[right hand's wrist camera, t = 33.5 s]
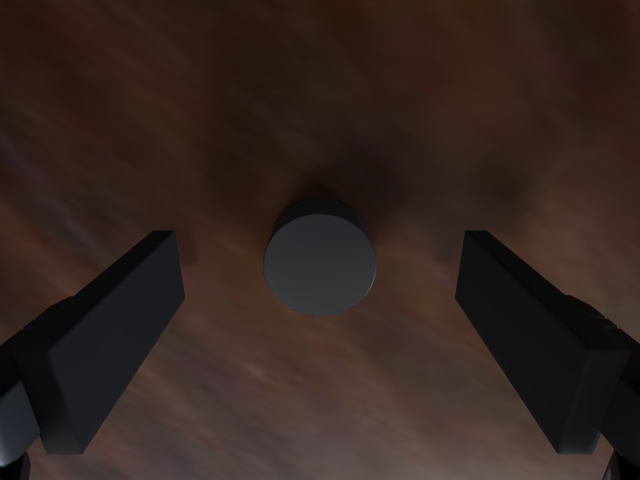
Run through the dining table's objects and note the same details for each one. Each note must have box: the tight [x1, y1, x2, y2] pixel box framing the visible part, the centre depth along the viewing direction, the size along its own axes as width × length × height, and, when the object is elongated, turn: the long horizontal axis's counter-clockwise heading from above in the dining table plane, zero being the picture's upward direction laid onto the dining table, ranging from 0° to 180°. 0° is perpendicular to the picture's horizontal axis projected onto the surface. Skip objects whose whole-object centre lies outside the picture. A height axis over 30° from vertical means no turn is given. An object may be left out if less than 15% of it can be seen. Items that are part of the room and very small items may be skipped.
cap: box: [263, 197, 376, 316], centre depth 15 cm, size 4×4×2 cm
